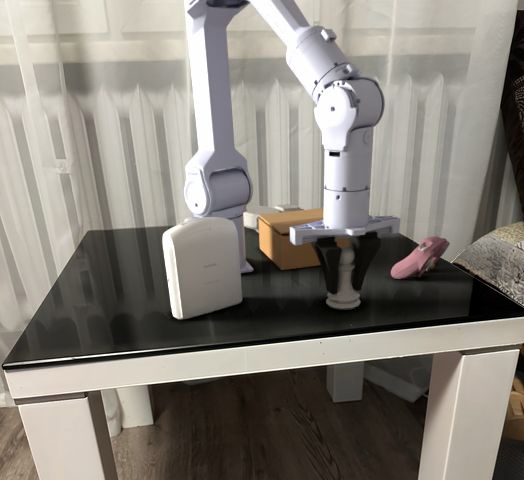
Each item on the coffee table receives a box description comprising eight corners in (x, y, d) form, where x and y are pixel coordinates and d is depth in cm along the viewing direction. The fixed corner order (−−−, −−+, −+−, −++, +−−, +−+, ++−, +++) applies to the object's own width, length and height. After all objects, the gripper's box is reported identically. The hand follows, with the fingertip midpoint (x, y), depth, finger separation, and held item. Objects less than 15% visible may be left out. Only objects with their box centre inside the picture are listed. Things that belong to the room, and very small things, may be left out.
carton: (281, 270, 88) (280, 232, 85) (259, 248, 99) (258, 214, 96) (366, 259, 91) (368, 222, 88) (335, 239, 102) (336, 206, 99)
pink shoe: (410, 293, 81) (435, 255, 76) (386, 275, 82) (409, 237, 77) (435, 274, 88) (460, 239, 83) (413, 258, 89) (435, 222, 84)
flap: (269, 225, 91) (269, 223, 90) (258, 216, 96) (258, 214, 96) (350, 216, 94) (351, 214, 94) (336, 208, 99) (336, 206, 99)
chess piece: (350, 295, 77) (352, 240, 73) (366, 306, 73) (370, 249, 69) (320, 300, 76) (320, 244, 72) (335, 312, 72) (337, 254, 68)
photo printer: (180, 323, 70) (169, 229, 65) (166, 313, 74) (155, 222, 68) (247, 304, 75) (242, 215, 69) (231, 295, 78) (226, 209, 73)
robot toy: (289, 221, 119) (227, 226, 113) (290, 200, 117) (227, 204, 111) (319, 233, 109) (253, 239, 103) (321, 210, 107) (253, 215, 101)
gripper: (303, 198, 62) (303, 308, 68) (416, 187, 65) (406, 292, 72) (283, 188, 68) (285, 289, 74) (388, 178, 71) (381, 276, 78)
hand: (343, 290), depth 73 cm, fingers closed on chess piece, 3 cm apart
